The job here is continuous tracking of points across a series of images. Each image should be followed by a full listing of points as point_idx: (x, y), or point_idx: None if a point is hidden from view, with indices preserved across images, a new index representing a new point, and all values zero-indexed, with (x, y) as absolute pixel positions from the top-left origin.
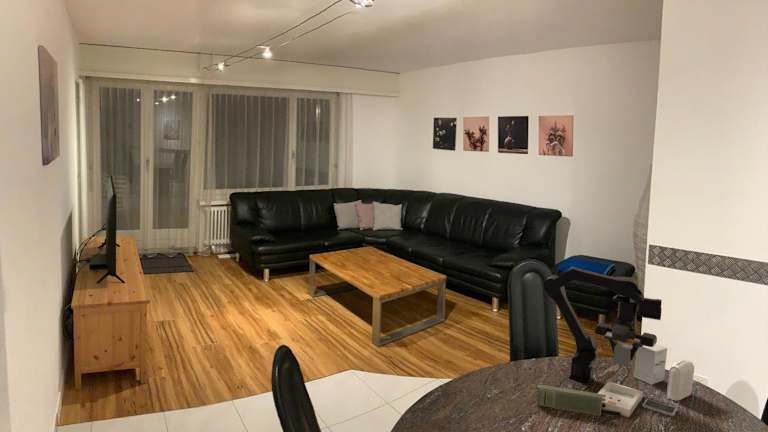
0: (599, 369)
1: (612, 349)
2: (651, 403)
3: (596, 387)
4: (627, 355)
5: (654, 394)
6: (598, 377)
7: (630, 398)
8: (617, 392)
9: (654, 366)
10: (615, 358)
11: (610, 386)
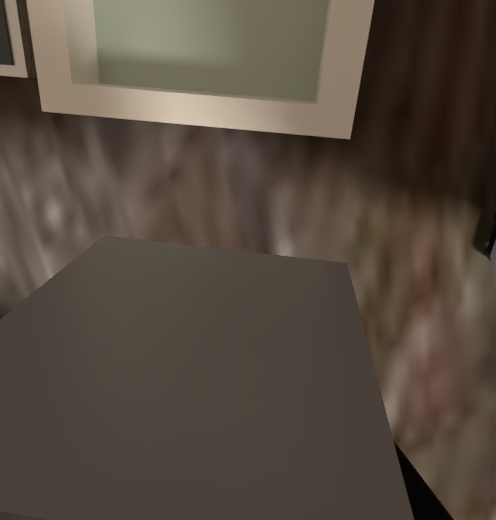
0: (433, 408)
1: (432, 498)
2: None
3: (440, 75)
4: (30, 341)
5: (44, 234)
6: (433, 284)
7: (133, 12)
8: (253, 67)
9: None
10: (316, 290)
11: (319, 77)
